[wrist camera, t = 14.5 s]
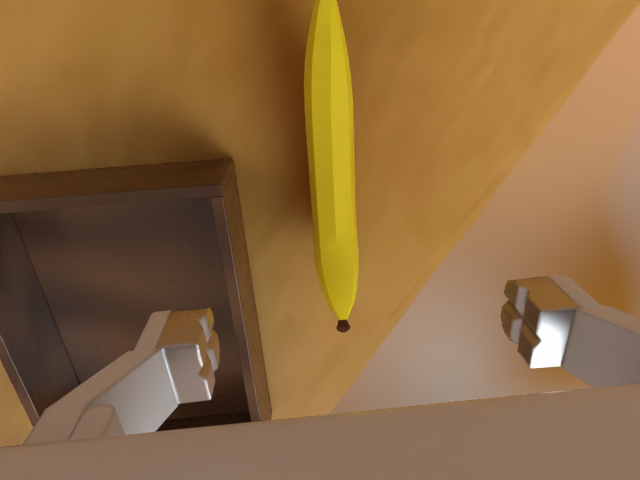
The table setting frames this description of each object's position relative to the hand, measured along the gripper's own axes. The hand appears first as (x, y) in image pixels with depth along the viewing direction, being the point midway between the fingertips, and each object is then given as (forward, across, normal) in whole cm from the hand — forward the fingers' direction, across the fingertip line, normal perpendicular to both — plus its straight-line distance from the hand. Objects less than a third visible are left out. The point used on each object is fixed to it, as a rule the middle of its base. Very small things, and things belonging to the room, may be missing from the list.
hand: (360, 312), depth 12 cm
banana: (+18, -1, +1) cm, 18 cm away
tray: (+18, +13, +11) cm, 25 cm away
